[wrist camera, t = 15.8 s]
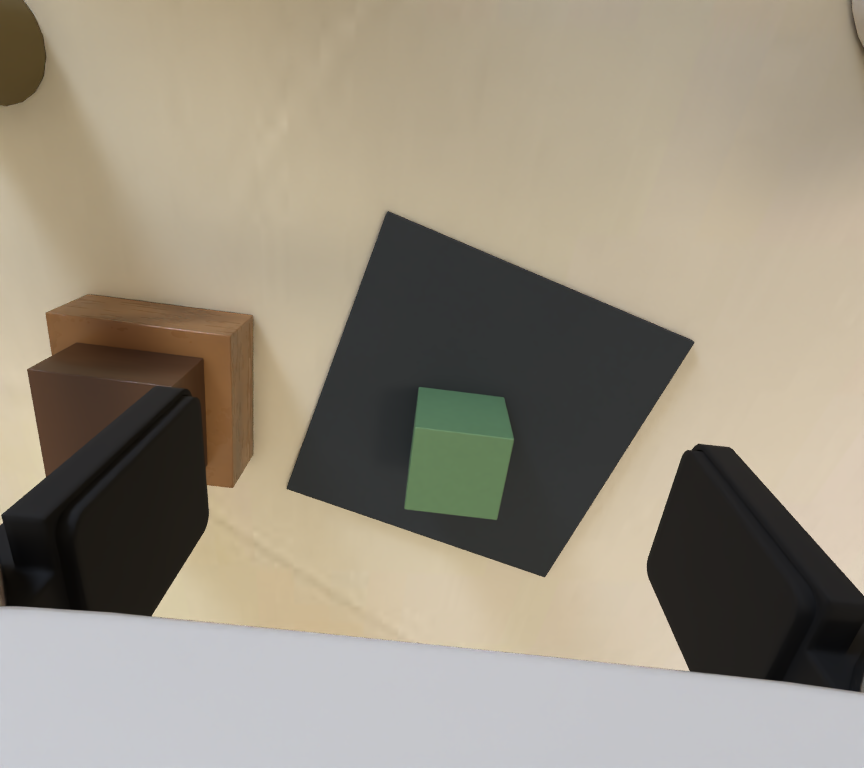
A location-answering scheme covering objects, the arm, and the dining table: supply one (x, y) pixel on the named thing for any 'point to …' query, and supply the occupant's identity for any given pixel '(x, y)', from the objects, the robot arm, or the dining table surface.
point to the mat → (481, 390)
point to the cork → (19, 52)
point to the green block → (458, 454)
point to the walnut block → (100, 392)
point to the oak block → (188, 336)
